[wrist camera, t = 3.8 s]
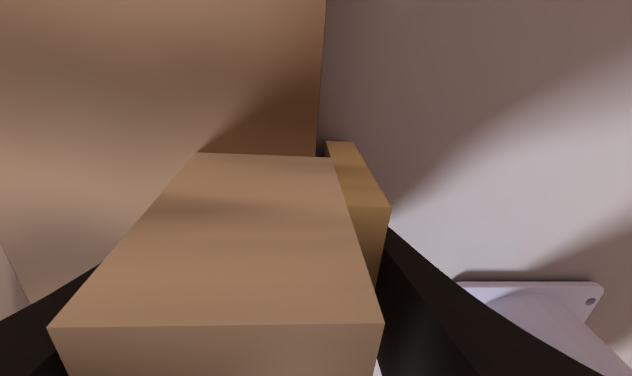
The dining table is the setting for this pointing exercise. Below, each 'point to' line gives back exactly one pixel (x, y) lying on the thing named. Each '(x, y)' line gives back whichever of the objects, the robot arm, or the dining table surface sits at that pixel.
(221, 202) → the tan wood block
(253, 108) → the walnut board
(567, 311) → the robot arm
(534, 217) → the dining table surface
